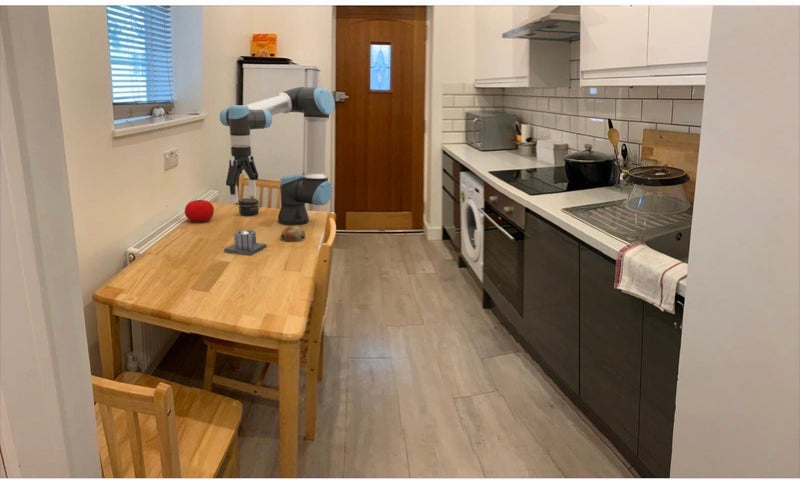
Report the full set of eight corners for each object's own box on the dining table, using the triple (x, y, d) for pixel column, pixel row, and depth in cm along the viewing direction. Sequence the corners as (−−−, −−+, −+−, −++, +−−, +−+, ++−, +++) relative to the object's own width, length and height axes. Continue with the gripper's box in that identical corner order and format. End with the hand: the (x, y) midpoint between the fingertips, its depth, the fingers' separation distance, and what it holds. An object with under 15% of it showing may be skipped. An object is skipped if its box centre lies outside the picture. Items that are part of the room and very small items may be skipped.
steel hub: (242, 242, 228) (241, 228, 226) (260, 244, 225) (259, 230, 224) (230, 247, 220) (230, 233, 218) (249, 250, 218) (248, 235, 216)
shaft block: (241, 244, 230) (240, 225, 228) (266, 247, 227) (265, 228, 225) (224, 252, 219) (223, 232, 217) (250, 255, 216) (249, 235, 214)
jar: (235, 214, 282) (234, 199, 280) (251, 211, 289) (250, 197, 287) (246, 217, 276) (245, 202, 273) (263, 214, 283) (262, 200, 281)
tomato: (202, 225, 258) (201, 203, 255) (179, 222, 261) (177, 201, 259) (220, 218, 271) (219, 198, 268) (198, 216, 275) (196, 196, 272)
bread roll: (295, 250, 236) (303, 235, 234) (275, 239, 237) (282, 223, 234) (304, 244, 246) (311, 229, 243) (284, 233, 246) (291, 218, 243)
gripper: (249, 142, 226) (251, 192, 232) (213, 148, 203) (217, 204, 209) (265, 143, 224) (267, 193, 230) (231, 150, 201) (235, 206, 207)
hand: (243, 198), depth 219 cm, fingers open, 13 cm apart
